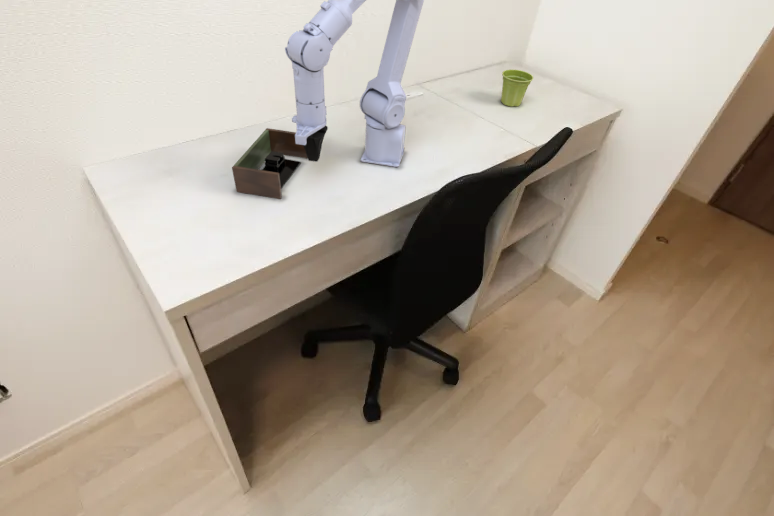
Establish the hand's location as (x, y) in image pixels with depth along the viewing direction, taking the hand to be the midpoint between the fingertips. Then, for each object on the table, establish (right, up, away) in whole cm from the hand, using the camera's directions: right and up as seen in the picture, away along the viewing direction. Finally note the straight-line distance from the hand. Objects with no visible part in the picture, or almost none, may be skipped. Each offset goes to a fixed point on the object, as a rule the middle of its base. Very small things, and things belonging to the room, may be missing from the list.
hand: (313, 159), depth 97 cm
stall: (-10, -2, +4) cm, 11 cm away
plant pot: (+55, +27, +43) cm, 75 cm away
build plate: (-9, -2, +4) cm, 11 cm away
